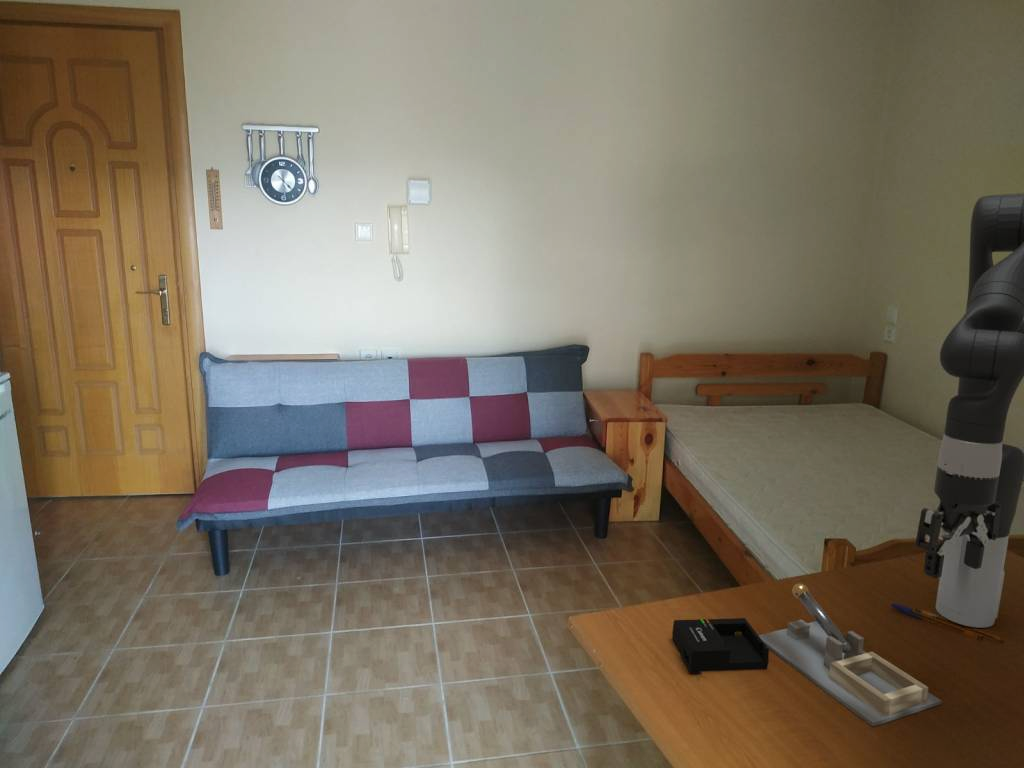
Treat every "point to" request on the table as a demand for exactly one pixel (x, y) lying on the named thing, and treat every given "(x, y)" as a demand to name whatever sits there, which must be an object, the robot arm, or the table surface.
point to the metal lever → (820, 615)
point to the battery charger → (719, 645)
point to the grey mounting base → (850, 673)
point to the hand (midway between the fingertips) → (952, 571)
